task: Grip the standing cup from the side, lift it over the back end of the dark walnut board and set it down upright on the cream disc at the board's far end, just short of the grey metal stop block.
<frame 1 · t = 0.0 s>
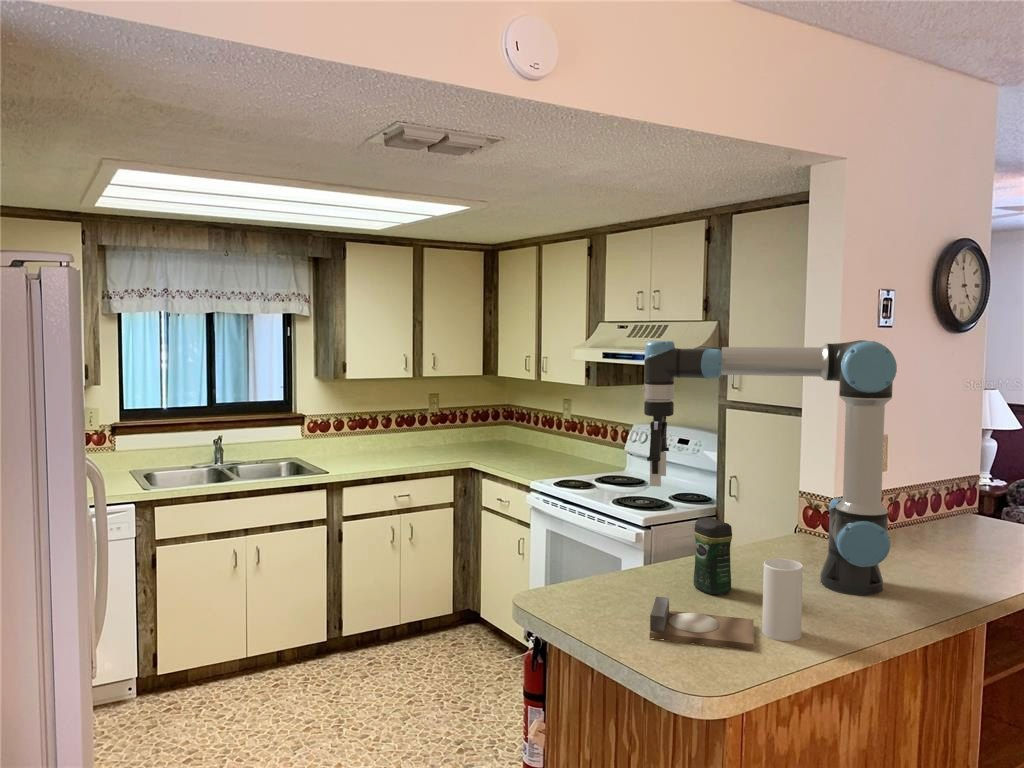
hand: (658, 480, 203), 28 cm above the worktop, tool pointing down, fingers open, 13 cm apart
coffee jar: (712, 590, 201), on the worktop
cup: (781, 634, 173), on the worktop
board: (702, 632, 174), on the worktop
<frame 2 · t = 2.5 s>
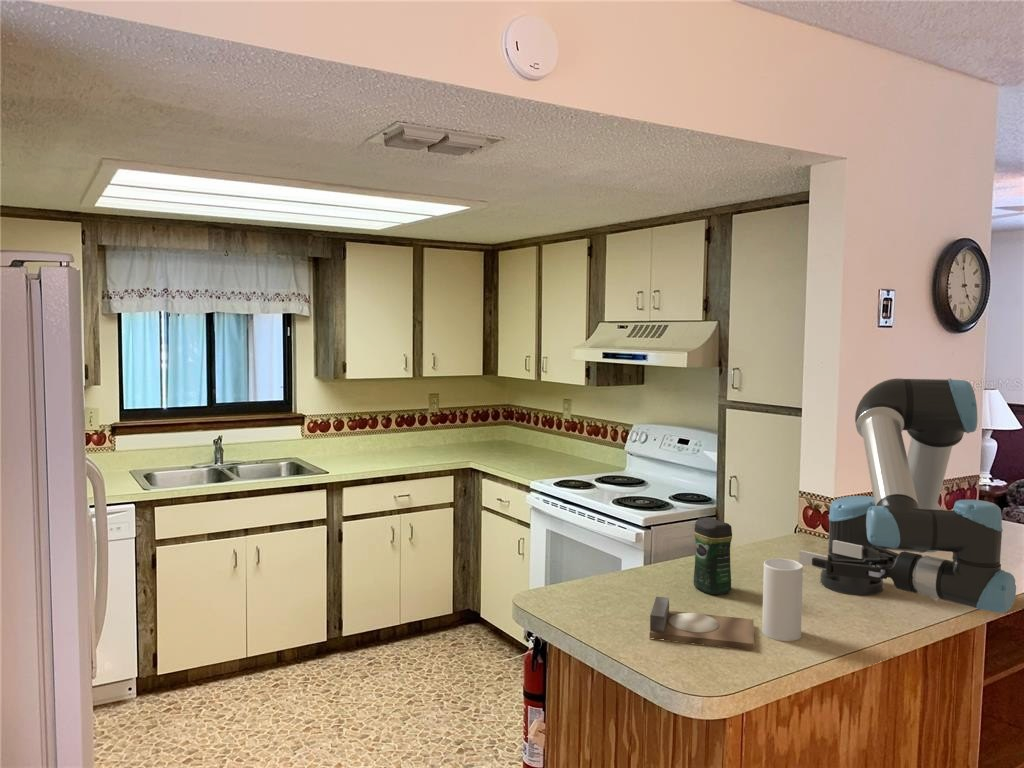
hand: (816, 551, 166), 20 cm above the worktop, tool horizontal, fingers open, 13 cm apart
nothing on the worktop moved.
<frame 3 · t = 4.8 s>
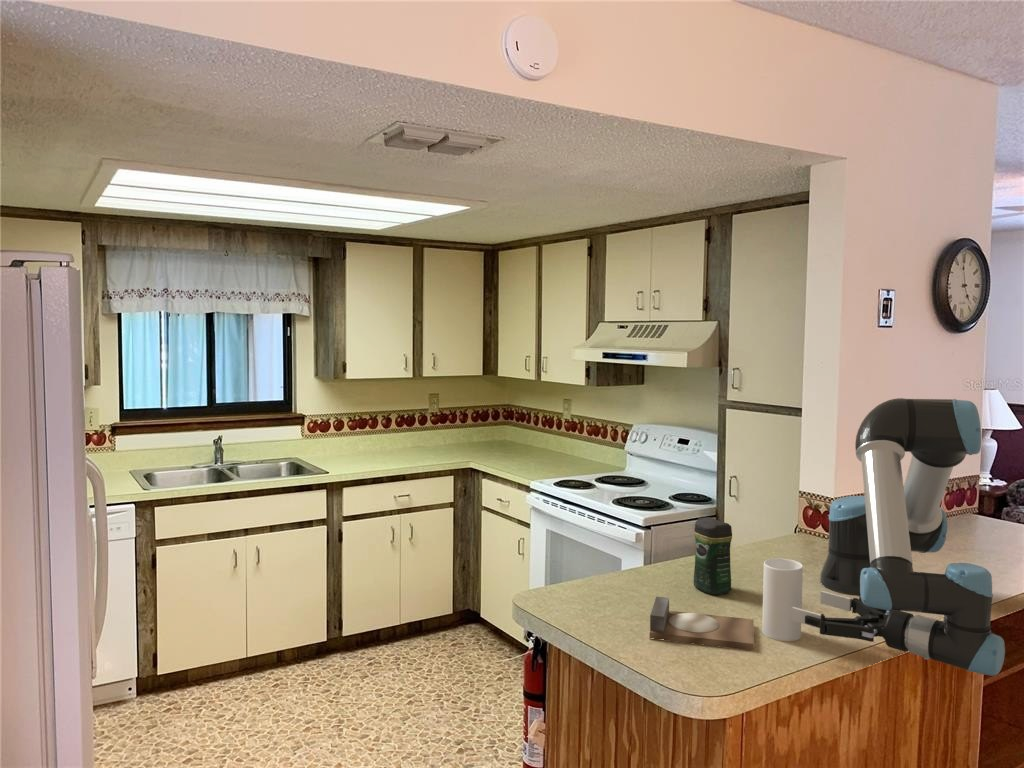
hand: (806, 605, 167), 8 cm above the worktop, tool horizontal, fingers open, 13 cm apart
nothing on the worktop moved.
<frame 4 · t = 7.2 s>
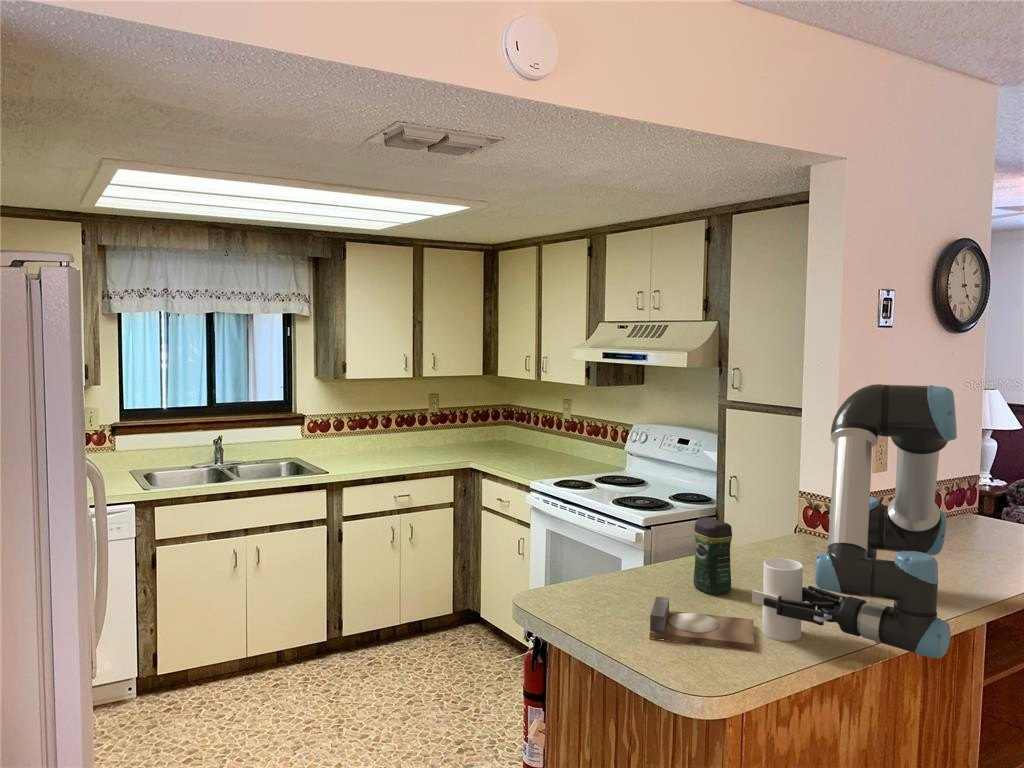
hand: (762, 591, 176), 9 cm above the worktop, tool horizontal, fingers closed on cup, 8 cm apart
cup: (781, 634, 173), on the worktop, touching gripper
everything else where it was.
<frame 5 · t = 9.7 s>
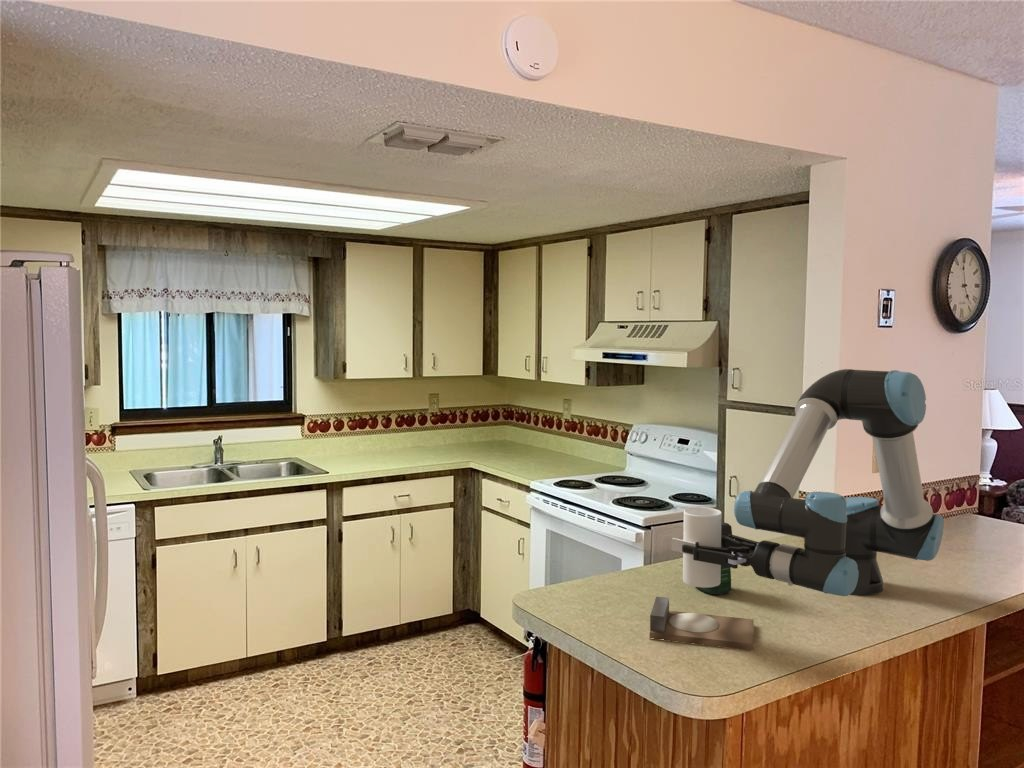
hand: (683, 540, 176), 20 cm above the worktop, tool horizontal, fingers closed on cup, 8 cm apart
cup: (701, 582, 173), point 11 cm above the worktop, touching gripper
everything else where it was.
when the fingers open (11 cm above the worktop, at t = 12.3 s): cup drops 1 cm, resting on board.
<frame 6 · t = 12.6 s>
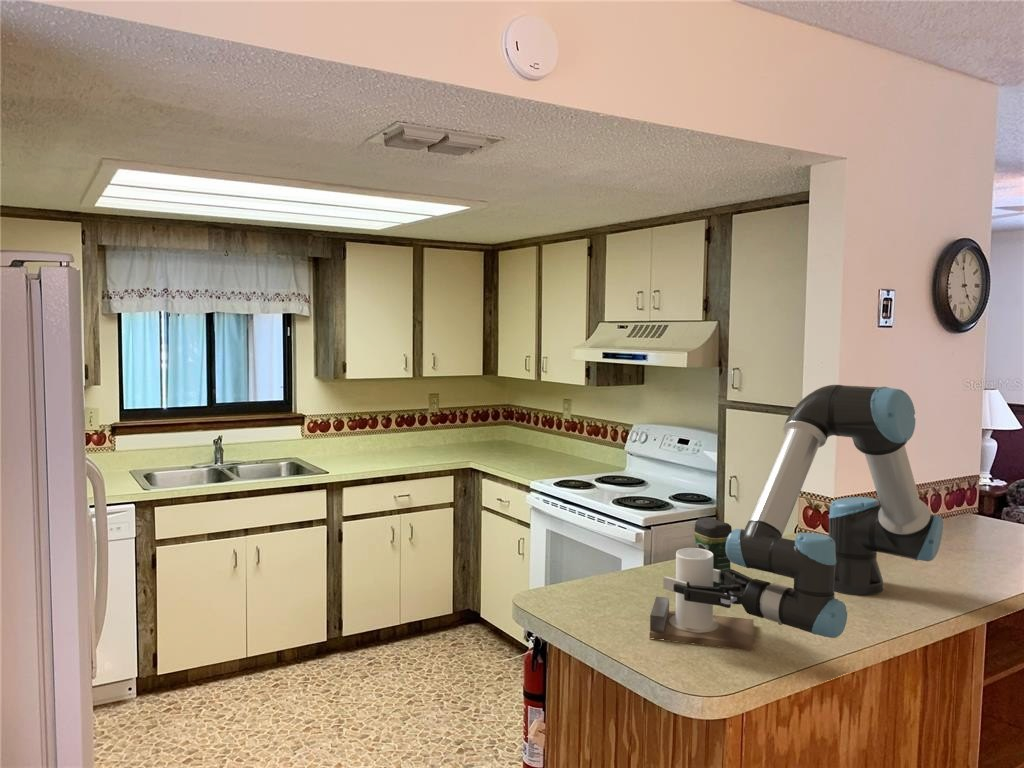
hand: (680, 576, 177), 11 cm above the worktop, tool horizontal, fingers open, 11 cm apart
cup: (694, 622, 175), point 2 cm above the worktop, touching board
everything else where it was.
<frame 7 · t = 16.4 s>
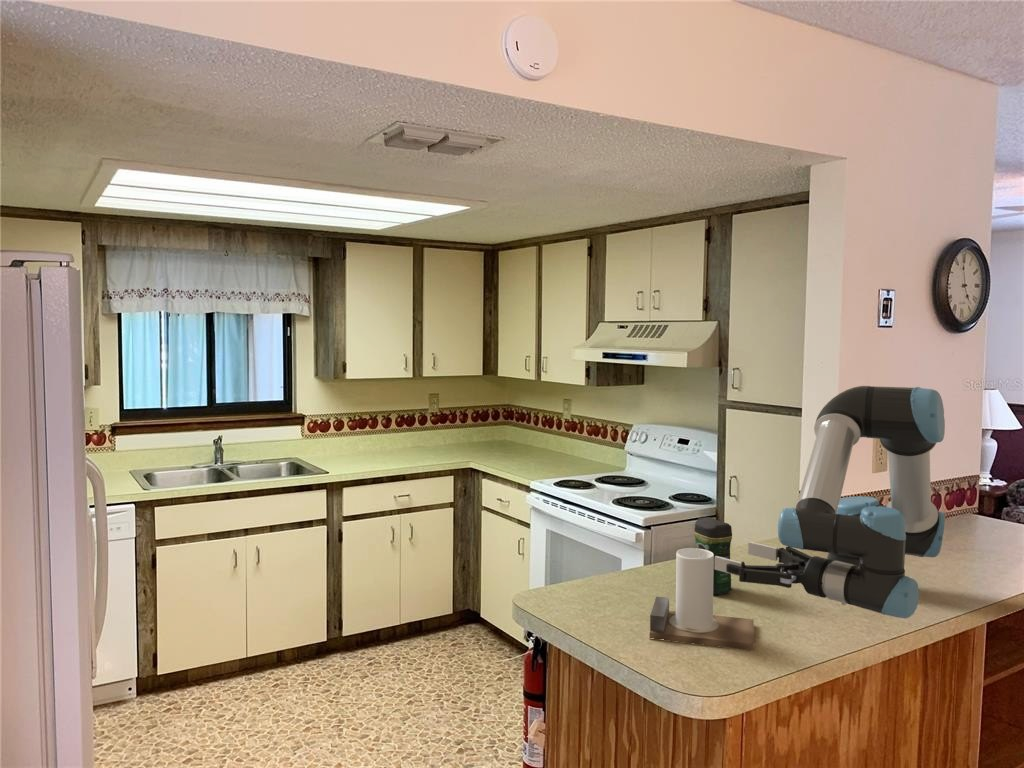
hand: (732, 555, 166), 20 cm above the worktop, tool horizontal, fingers open, 13 cm apart
nothing on the worktop moved.
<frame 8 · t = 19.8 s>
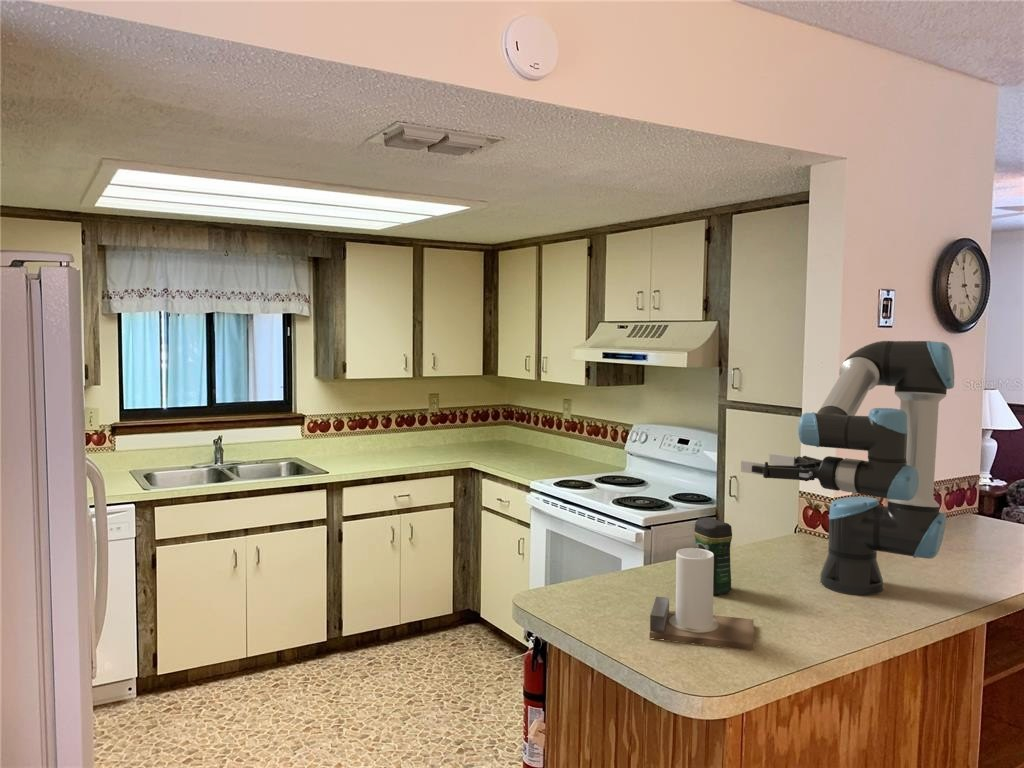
hand: (756, 462, 190), 35 cm above the worktop, tool horizontal, fingers open, 13 cm apart
nothing on the worktop moved.
at the end: cup inside the target area (0.1 cm from its centre), point 1.5 cm above the worktop; cup tilted 0°; the gripper is holding nothing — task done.
